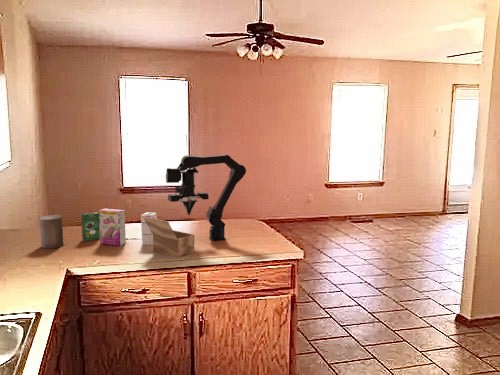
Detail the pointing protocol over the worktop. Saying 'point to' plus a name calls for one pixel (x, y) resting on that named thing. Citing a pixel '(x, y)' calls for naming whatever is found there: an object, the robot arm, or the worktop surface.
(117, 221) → the candy bar box
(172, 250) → the light wood open box
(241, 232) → the worktop surface
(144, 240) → the syrup box
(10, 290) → the worktop surface
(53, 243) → the pillar candle
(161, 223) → the flap
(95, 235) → the coffee box
